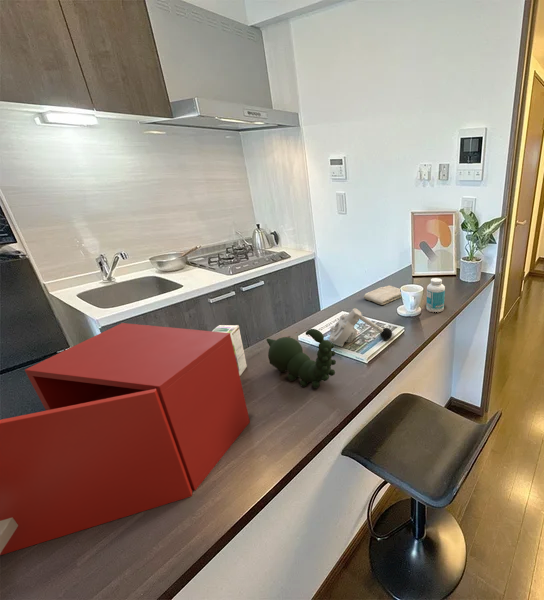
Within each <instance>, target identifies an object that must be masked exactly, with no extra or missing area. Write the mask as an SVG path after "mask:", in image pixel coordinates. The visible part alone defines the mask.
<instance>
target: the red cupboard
mask: <svg viewBox="0 0 544 600" xmlns="http://www.w3.org/2000/svg"><path fill="white" fill-rule="evenodd" d="M24 372H25V374H26V376H27V378H28V380H29V381H30V383H31V385H32V387H33V389H34V391H35V393H36V394H37V397H38V399H39V400H40V402H41V404H42V406H43V408H44V411H47V410H52V409H57V408H62V407H67V406H72V405H77V404H82V403H87V402H92V401H97V400H102V399H107V398H112V397H117V396H122V395H126V394H131V393H136V392H141V391H146V390H151V389H156V390H157V393H158V395H159V398H160V401H161V404H162V407H163V410H164V412H165V415H166V418H167V421H168V424H169V427H170V429H171V432H172V435H173V438H174V441H175V444H176V447H177V449H178V452H179V455H180V458H181V461H182V464H183V466H184V469H185V472H186V475H187V478H188V481H189V483H190V486H191V489H192V491H196V490H197V489H198V488H199V487H200V486H201V485H202V483H203V482H204V481H205V479H206V478H207V476H209V474H210V473H211V472H212V470H213V469H214V468H215V467H216V465H217V464H218V463H219V461H220V460H221V459H222V458H223V456H224V455H225V454H226V453H227V451H228V450H229V449H230V447H231V446H233V444H234V442H235V441H236V440H237V439H238V438H239V436H240V435H241V434H242V432H243V431H244V430H245V429H246V427H247V426H248V425H249V424H250V423H251V420H250V416H249V411H248V407H247V403H246V397H245V394H244V389H243V385H242V381H241V375H239V371H238V367H237V362H236V358H235V353H234V349H233V344H232V340H231V335H230V333H224V332H213V330H212V331H211V330H201V329H191V328H190V329H189V328H181V327H171V326H160V325H159V326H158V325H148V324H137V323H125V322H121V323H119V324H117V325H115V326H112V327H110V328H108V329H107V330H104V331H102V332H101V333H98V334H96V335H94V336H92V337H90V338H88V339H86V340H83V341H82V342H79V343H78V344H75V345H73V346H71V347H69V348H67V349H65V350H63V351H61V352H58V353H57V354H54V355H52V356H50V357H48V358H46V359H44V360H42V361H40V362H38V363H36V364H34V365H32V366H29V367H27V368H25V369H24Z"/></svg>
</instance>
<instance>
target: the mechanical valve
mask: <svg viewBox="0 0 544 600" xmlns="http://www.w3.org/2000/svg"><path fill="white" fill-rule="evenodd" d="M359 321H362V322H363V323H365V325H369V327H372V328H373V329H374V330H375V331H377V332H379V334H380V338H381V339H382V340H386V341H387V340H390V339H391V338H392V337H393V332H392V329H391V328H389V327H384V328H383V327H382V328H381V326H379V325H377V324H376V323H375V322H373V321H371V320H370V319H368V318H366V317H365V316H364V315H363V313H362V312H361V311H360V310H359V309H358V308H356V307H355V308H352V309H351V311H349V313H348V314H341V316H340V318H339V319H338V321H336V323H335V325H332V326H331V327H330V329H329V331H330V334H329V341H330V342H331V344H334V345H336V346H337V345H338V347H341V348H343V346H344V345H345V342H346V343H348V344H351V343H352V342H353V341H354V340H355V338H356V336H357V334H358V330H357V329H356V328H355V326H356V324H358V323H359Z"/></svg>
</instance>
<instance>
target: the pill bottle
mask: <svg viewBox="0 0 544 600" xmlns="http://www.w3.org/2000/svg"><path fill="white" fill-rule="evenodd" d="M445 296H446V286H445V285H444V284H443V279H442V278H439V277H433V278H430V283H429V284H427V286H426V311H428V312H430V313H434V312H435V313H436V312H437V313H441V312H443V311H444V309H445ZM437 313H436V314H437Z"/></svg>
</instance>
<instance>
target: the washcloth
mask: <svg viewBox="0 0 544 600" xmlns="http://www.w3.org/2000/svg"><path fill="white" fill-rule="evenodd" d="M400 289H401V288H398V287H396V286H393V285H390V284H389V285H386V286H380V287H378V288H375V289H373V290H371V291H369V292H366V293H365V294H364V295H363V299H365V300H367V301H369V302H373V303H375V304H378V305H380V306H385V305H387V304H390V303H391V302H393V301H395V300H398V299H401V298H402V297H401V292H400Z"/></svg>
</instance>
